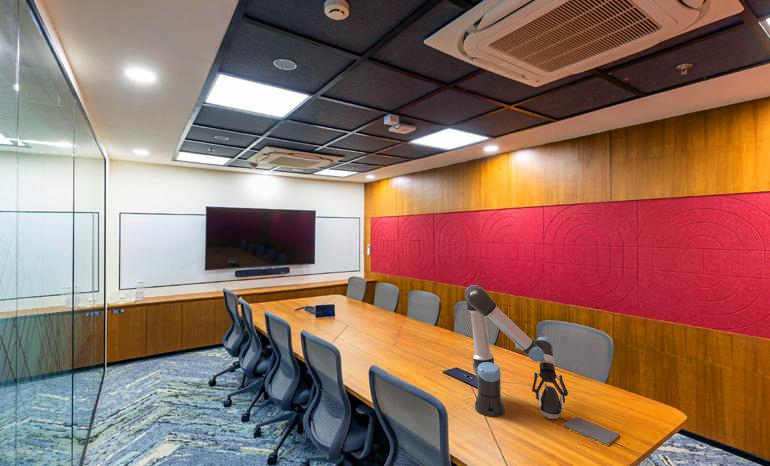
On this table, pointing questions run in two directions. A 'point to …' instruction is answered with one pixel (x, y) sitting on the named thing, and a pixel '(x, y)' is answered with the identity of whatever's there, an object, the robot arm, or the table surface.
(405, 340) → the table surface
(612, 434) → the mat
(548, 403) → the pump dispenser
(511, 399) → the table surface
